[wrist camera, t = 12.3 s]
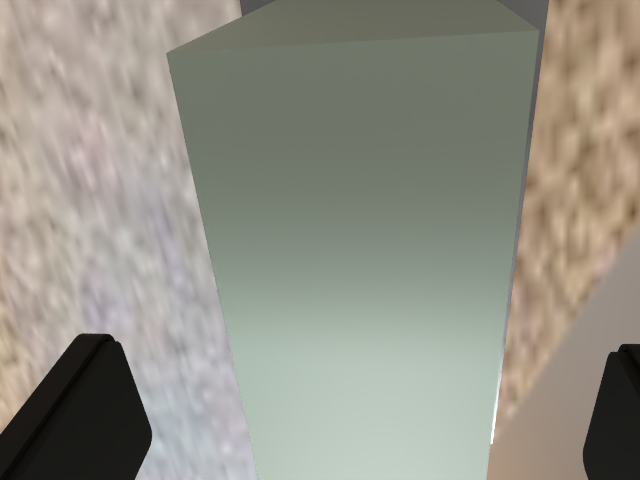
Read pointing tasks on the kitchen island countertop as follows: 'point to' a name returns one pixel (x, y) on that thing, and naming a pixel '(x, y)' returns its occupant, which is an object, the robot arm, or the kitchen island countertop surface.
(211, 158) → the door panel
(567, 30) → the kitchen island countertop surface
